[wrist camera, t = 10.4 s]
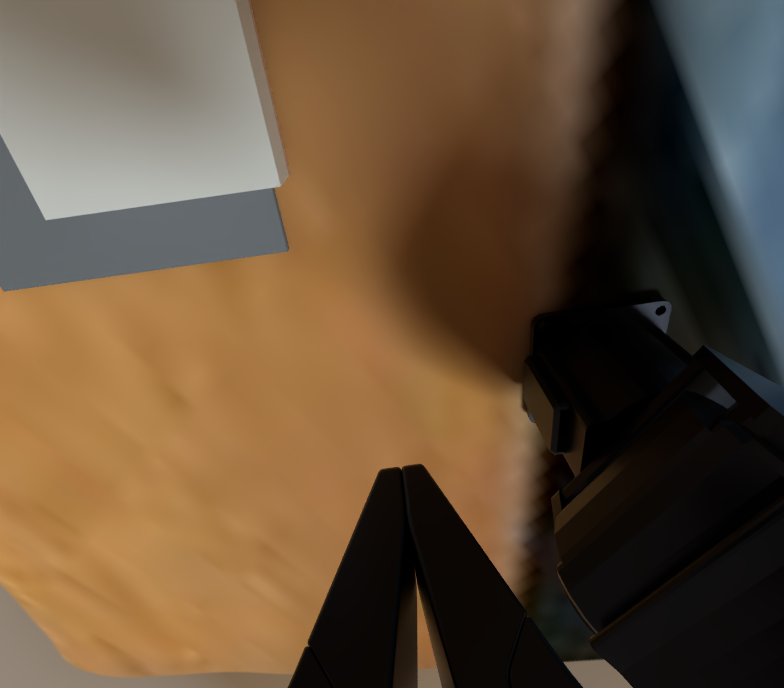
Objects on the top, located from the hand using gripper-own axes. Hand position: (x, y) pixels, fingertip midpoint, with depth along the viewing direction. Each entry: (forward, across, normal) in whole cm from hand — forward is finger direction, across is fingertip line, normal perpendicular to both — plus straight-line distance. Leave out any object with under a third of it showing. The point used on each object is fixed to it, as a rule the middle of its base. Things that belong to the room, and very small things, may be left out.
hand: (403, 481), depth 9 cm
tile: (+11, +3, -8) cm, 14 cm away
